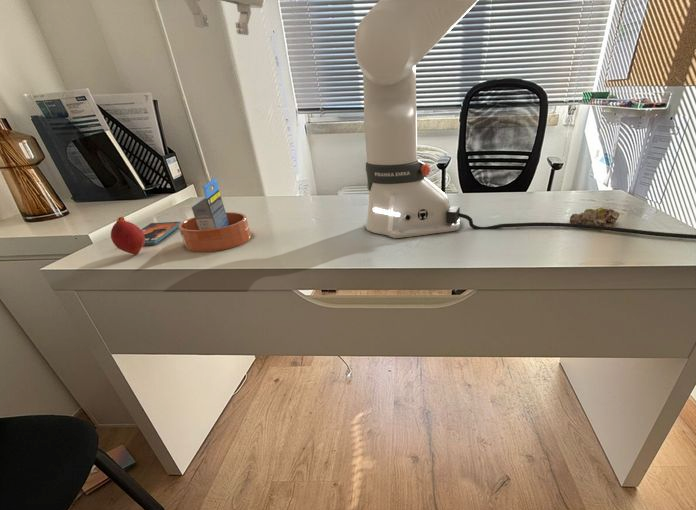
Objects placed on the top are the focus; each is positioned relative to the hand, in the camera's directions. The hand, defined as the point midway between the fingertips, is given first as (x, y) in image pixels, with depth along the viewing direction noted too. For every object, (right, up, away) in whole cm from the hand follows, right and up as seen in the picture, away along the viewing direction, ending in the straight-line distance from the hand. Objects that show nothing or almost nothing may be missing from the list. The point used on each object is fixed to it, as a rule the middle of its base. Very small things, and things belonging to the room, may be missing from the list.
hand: (223, 31), depth 73 cm
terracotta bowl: (-8, -35, +16) cm, 40 cm away
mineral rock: (+78, -31, +16) cm, 85 cm away
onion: (-24, -40, +11) cm, 48 cm away
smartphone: (-27, -33, +21) cm, 47 cm away
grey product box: (-8, -35, +16) cm, 39 cm away
